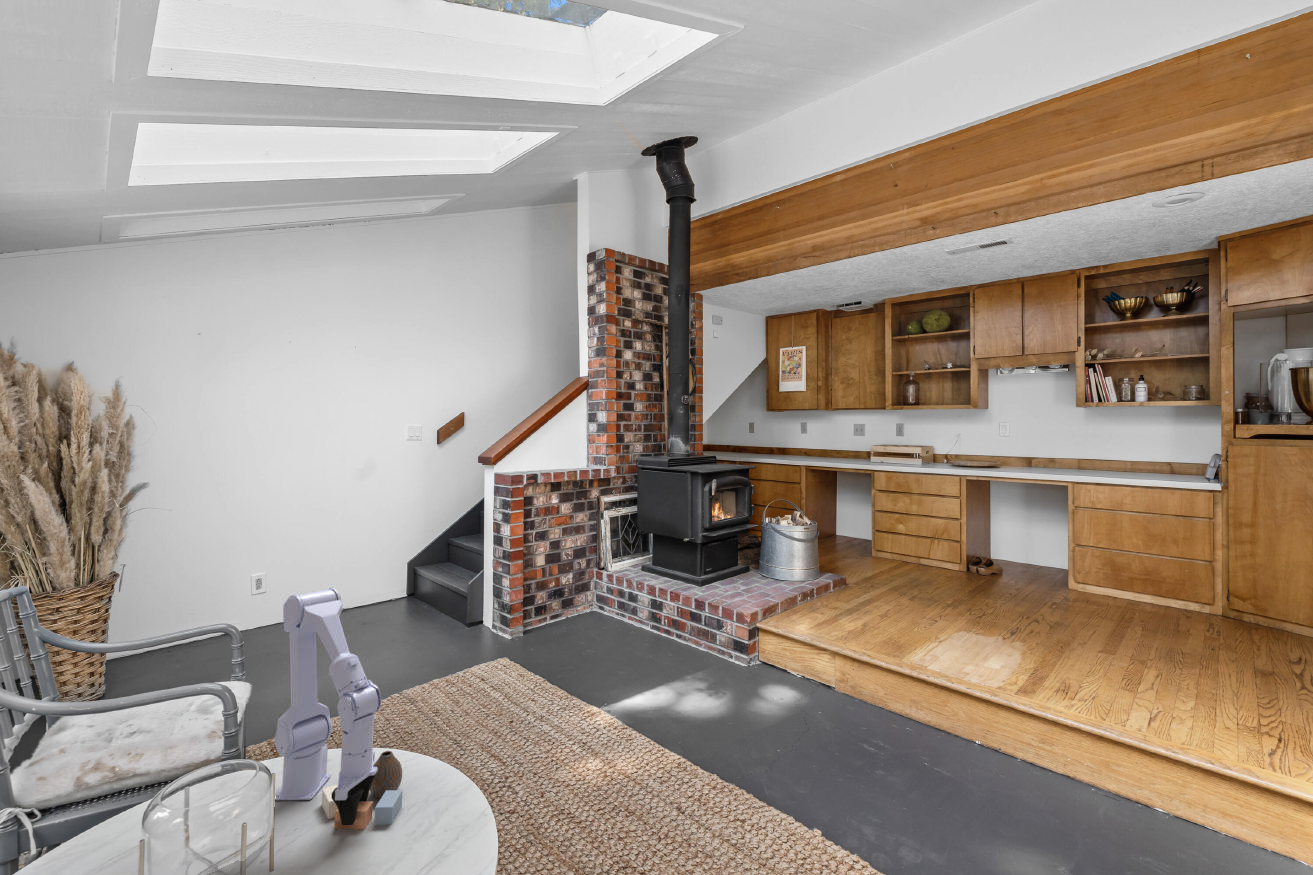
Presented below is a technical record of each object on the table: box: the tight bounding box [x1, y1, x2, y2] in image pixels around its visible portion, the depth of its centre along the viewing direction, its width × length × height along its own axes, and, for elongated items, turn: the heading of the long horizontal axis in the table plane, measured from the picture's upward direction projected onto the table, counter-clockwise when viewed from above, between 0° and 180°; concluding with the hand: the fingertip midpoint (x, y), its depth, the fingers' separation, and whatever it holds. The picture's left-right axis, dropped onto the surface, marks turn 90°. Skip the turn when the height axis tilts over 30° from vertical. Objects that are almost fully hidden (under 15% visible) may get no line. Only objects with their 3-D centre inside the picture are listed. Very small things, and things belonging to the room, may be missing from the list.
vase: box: [369, 750, 403, 799], centre depth 130 cm, size 7×7×9 cm
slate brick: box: [374, 789, 403, 826], centre depth 123 cm, size 6×3×4 cm, turn 5°
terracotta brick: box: [333, 800, 374, 830], centre depth 120 cm, size 6×3×4 cm, turn 95°
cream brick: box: [321, 783, 338, 820], centre depth 124 cm, size 6×3×4 cm, turn 42°
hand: (353, 815), depth 120 cm, fingers open, 5 cm apart
